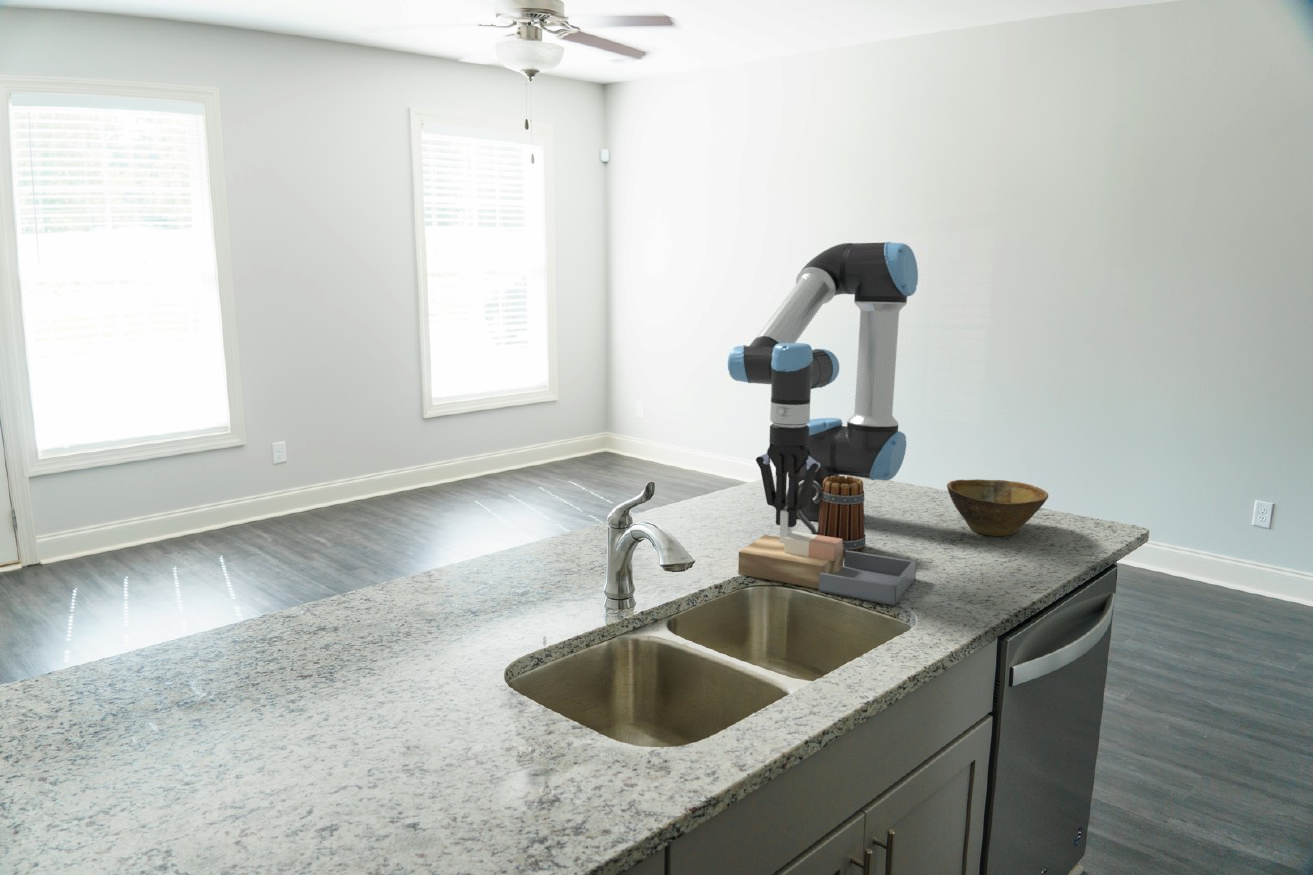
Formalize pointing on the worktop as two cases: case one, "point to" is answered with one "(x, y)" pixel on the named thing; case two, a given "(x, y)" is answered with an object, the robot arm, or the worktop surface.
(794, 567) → the oak board
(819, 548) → the tile terracotta
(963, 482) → the bowl
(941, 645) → the worktop surface
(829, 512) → the mug
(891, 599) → the tray
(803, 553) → the tile cream
